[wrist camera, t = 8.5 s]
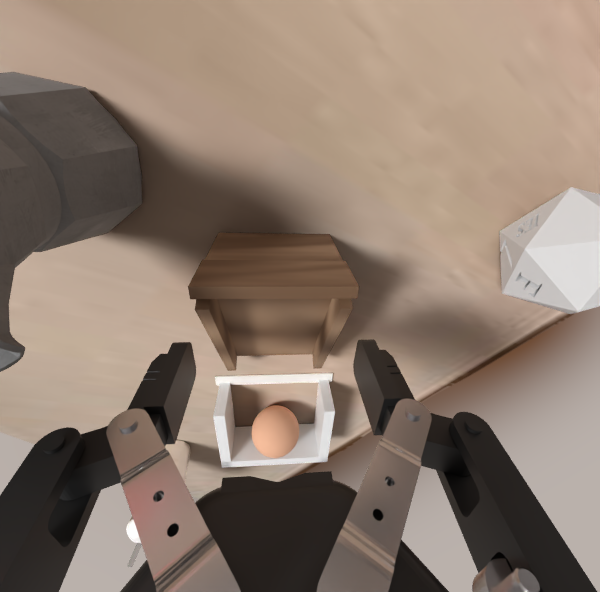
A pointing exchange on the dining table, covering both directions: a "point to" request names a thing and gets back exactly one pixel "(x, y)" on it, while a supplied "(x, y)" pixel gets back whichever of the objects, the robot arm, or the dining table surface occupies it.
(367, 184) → the dining table surface
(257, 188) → the dining table surface
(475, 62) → the dining table surface
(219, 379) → the tape line
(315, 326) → the ramp
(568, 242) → the die
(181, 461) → the milkshake
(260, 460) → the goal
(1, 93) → the coffeepot
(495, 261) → the dining table surface
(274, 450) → the ball
